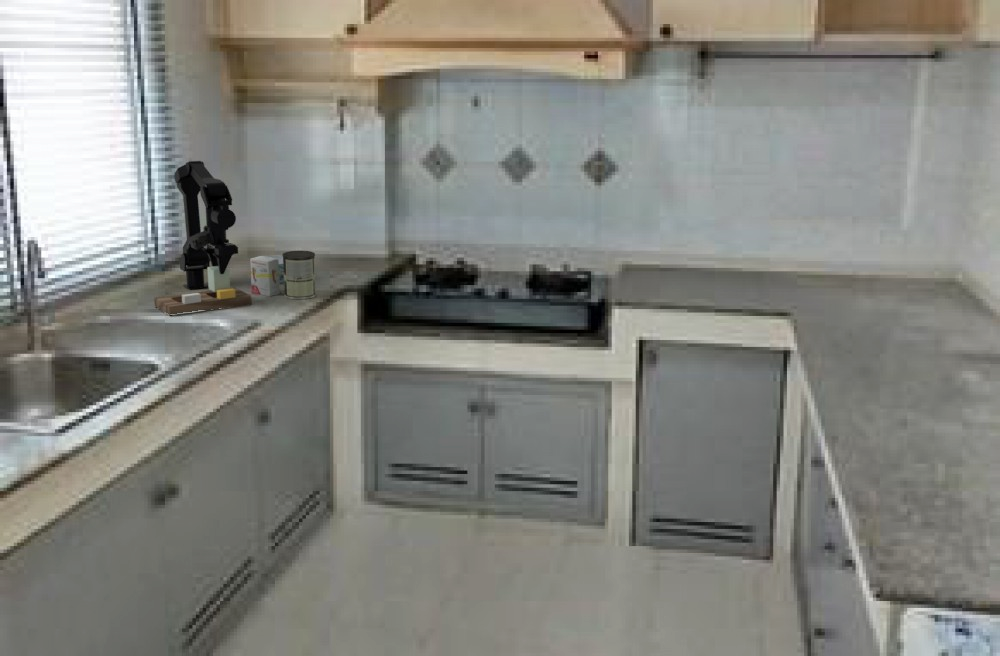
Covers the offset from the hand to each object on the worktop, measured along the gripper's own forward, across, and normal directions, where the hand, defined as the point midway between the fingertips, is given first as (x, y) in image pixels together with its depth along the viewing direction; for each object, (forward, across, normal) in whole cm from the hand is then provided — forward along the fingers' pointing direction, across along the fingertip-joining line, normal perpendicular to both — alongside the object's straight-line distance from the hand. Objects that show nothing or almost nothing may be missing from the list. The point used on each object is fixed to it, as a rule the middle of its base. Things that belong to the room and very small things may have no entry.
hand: (218, 272), depth 308 cm
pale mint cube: (+6, 0, 0) cm, 6 cm away
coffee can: (+10, +4, +26) cm, 28 cm away
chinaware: (+10, -19, +27) cm, 35 cm away
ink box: (+10, -5, +18) cm, 21 cm away
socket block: (+10, 0, -6) cm, 11 cm away
